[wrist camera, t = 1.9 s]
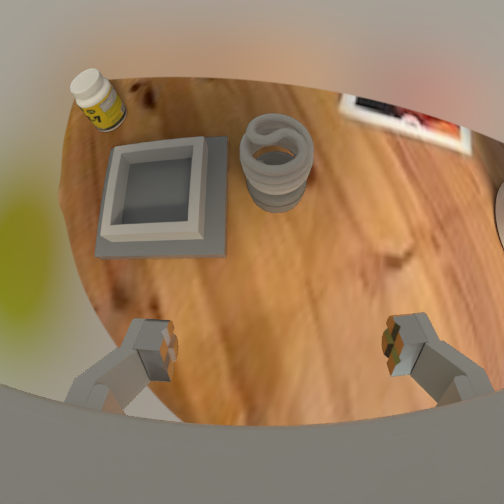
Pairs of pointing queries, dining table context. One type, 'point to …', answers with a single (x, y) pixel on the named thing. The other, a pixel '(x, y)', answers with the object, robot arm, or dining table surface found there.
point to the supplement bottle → (98, 100)
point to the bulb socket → (165, 200)
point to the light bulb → (276, 161)
